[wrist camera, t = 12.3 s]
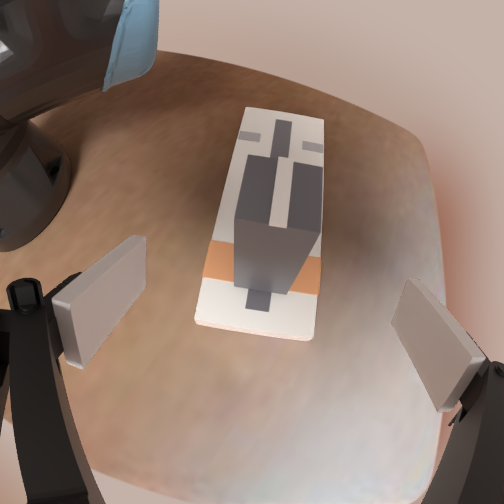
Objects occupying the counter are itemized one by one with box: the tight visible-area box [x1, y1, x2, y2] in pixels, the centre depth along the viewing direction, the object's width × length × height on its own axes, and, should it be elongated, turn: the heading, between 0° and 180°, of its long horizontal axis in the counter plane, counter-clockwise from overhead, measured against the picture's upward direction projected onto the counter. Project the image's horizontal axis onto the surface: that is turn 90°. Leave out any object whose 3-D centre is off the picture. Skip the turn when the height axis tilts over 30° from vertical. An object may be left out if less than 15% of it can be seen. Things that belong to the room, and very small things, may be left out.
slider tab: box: [234, 154, 323, 295], centre depth 19 cm, size 4×4×10 cm
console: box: [194, 107, 324, 341], centre depth 28 cm, size 24×9×2 cm, turn 171°
